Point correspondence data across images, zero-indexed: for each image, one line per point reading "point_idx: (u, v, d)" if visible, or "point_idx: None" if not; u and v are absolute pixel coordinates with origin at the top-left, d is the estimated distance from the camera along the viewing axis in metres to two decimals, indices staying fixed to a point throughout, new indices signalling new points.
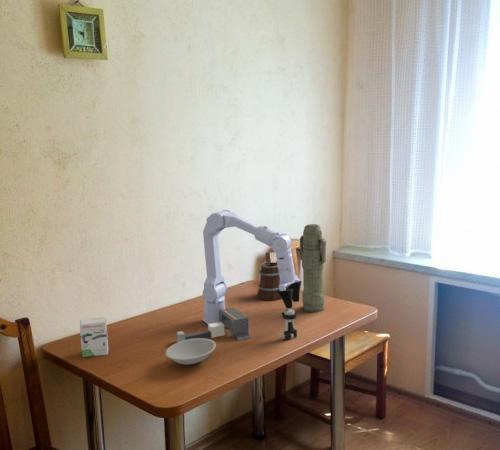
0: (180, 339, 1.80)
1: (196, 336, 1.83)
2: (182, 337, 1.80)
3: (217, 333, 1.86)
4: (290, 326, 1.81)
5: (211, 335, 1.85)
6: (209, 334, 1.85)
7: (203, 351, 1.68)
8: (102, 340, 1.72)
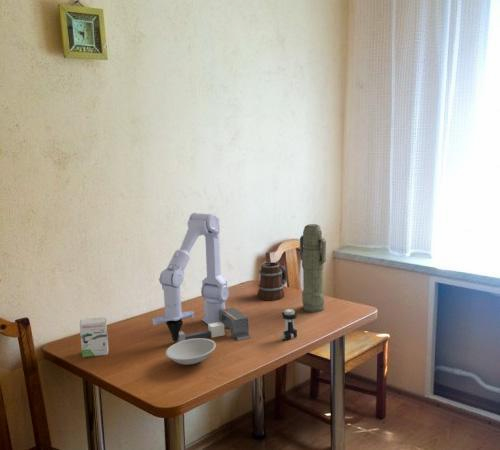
0: (180, 339, 1.80)
1: (196, 336, 1.83)
2: (182, 337, 1.80)
3: (217, 333, 1.86)
4: (290, 326, 1.81)
5: (211, 335, 1.85)
6: (209, 334, 1.85)
7: (203, 351, 1.68)
8: (102, 340, 1.72)
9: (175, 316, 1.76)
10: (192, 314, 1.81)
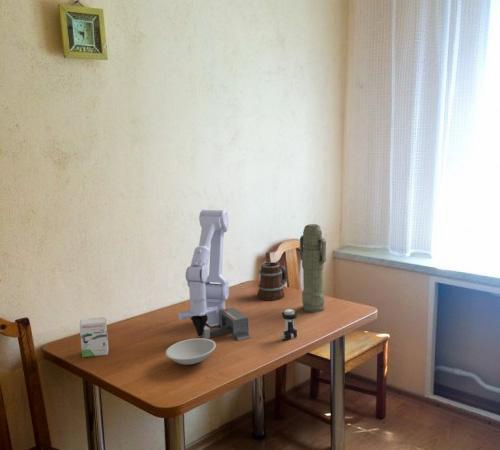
0: (205, 334, 1.84)
1: (220, 331, 1.87)
2: (207, 332, 1.84)
3: None
4: (290, 326, 1.81)
5: None
6: None
7: (203, 351, 1.68)
8: (102, 340, 1.72)
9: (200, 311, 1.80)
10: (216, 309, 1.85)
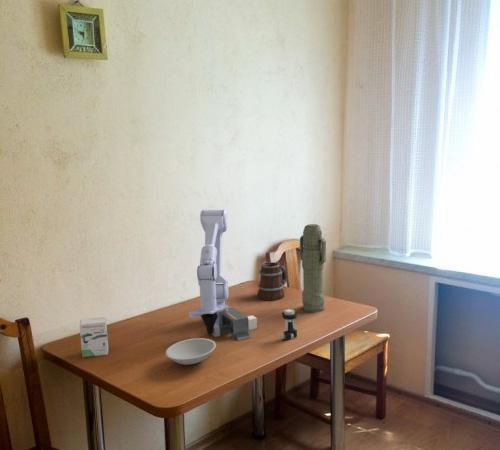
0: (215, 332, 1.86)
1: (230, 329, 1.89)
2: (217, 330, 1.86)
3: (250, 326, 1.91)
4: (290, 326, 1.81)
5: None
6: None
7: (203, 351, 1.68)
8: (102, 340, 1.72)
9: (211, 309, 1.82)
10: (226, 308, 1.87)
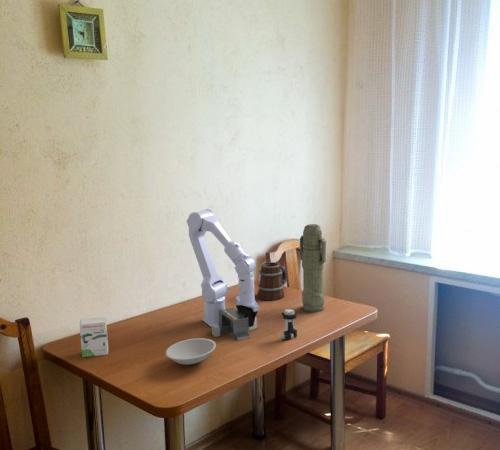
0: (216, 332, 1.86)
1: (230, 329, 1.89)
2: (217, 330, 1.86)
3: None
4: (290, 326, 1.81)
5: None
6: None
7: (203, 351, 1.68)
8: (102, 340, 1.72)
9: (240, 301, 1.90)
10: (253, 307, 1.85)
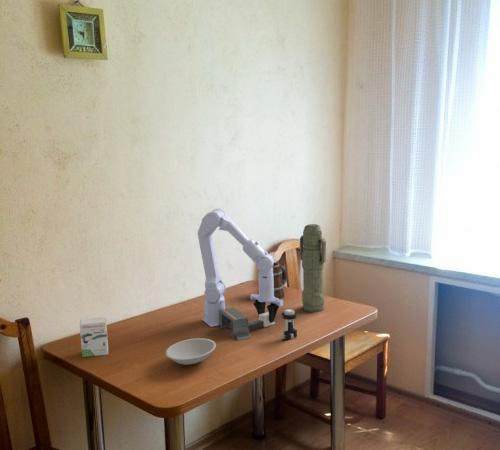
0: None
1: (251, 326, 1.91)
2: None
3: (269, 322, 1.95)
4: (290, 326, 1.81)
5: (264, 324, 1.94)
6: (262, 323, 1.94)
7: (203, 351, 1.68)
8: (102, 340, 1.72)
9: (261, 298, 1.93)
10: (278, 302, 1.90)
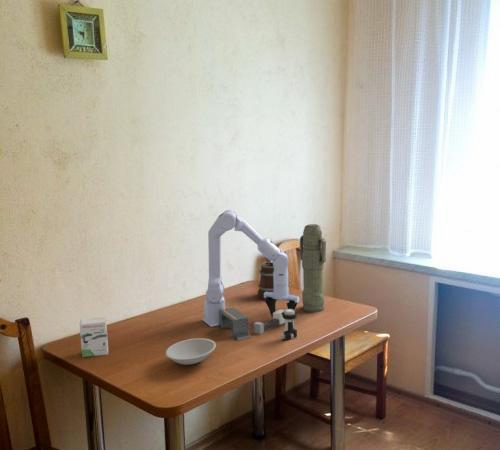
0: (261, 329, 1.87)
1: (270, 324, 1.92)
2: (262, 327, 1.87)
3: (283, 319, 1.97)
4: (290, 326, 1.81)
5: (279, 322, 1.96)
6: (278, 321, 1.96)
7: (203, 351, 1.68)
8: (102, 340, 1.72)
9: (277, 295, 1.95)
10: (295, 299, 1.93)
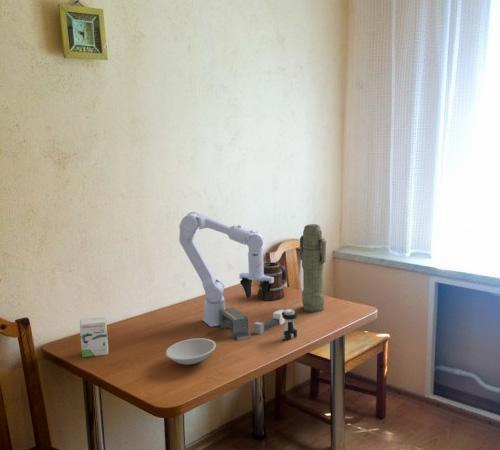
0: (261, 329, 1.87)
1: (270, 324, 1.92)
2: (262, 327, 1.87)
3: (283, 319, 1.97)
4: (290, 326, 1.81)
5: (279, 322, 1.96)
6: (278, 321, 1.96)
7: (203, 351, 1.68)
8: (102, 340, 1.72)
9: (251, 276, 1.94)
10: (269, 279, 1.92)
